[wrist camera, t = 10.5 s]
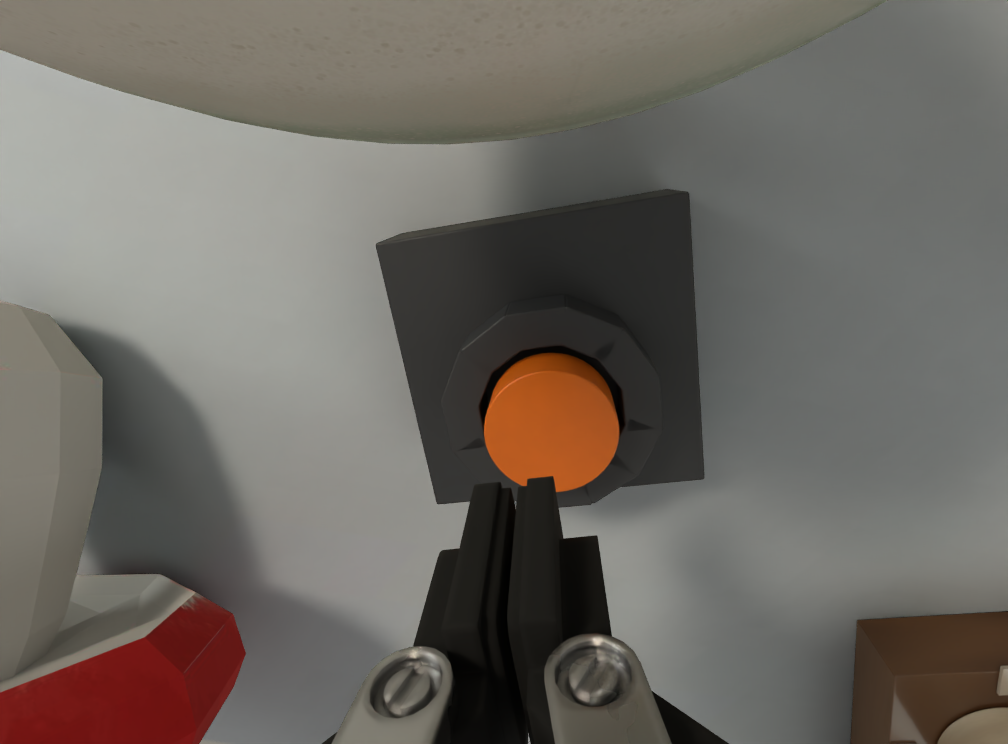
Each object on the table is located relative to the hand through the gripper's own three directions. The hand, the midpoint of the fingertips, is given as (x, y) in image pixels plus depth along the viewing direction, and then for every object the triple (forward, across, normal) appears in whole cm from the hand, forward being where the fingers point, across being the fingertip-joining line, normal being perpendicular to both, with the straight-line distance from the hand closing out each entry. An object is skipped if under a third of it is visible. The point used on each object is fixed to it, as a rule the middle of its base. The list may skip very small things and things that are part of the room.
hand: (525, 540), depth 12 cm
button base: (+11, -1, -1) cm, 11 cm away
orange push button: (+7, -1, 0) cm, 7 cm away
